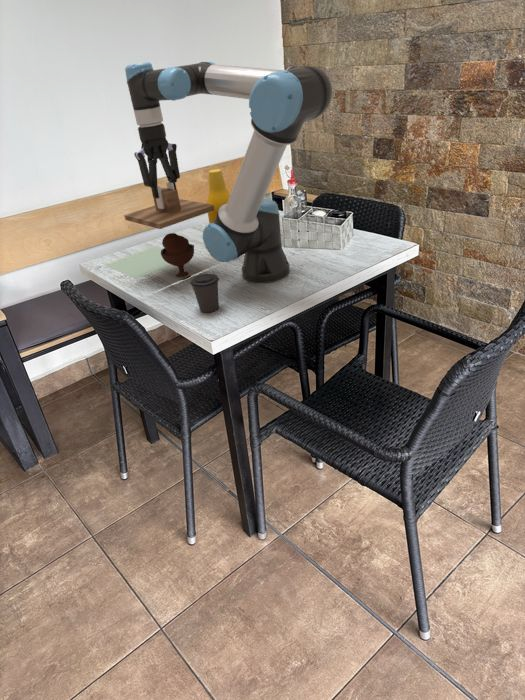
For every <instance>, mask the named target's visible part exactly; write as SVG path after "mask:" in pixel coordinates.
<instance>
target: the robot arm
mask: <svg viewBox="0 0 525 700" xmlns="http://www.w3.org/2000/svg"><path fill="white" fill-rule="evenodd" d="M124 70H125V71H124V72H125V77H126V85H127V87H128V91H129V97H130V101H131V104H132V109H133V112H134V113H133V114H134V117H135V122H136V125H137V126H138V127H137V131H138V137H139V139H140V142H141V147H140V148H141V149H140V150H138V152H134V153H133V154H134V157H135V159H136V160H137V162H138V166H139V171H140V174H141V178H142V181H143V185H144V187H148V188H149V187H150V189H151V194H152V198H153V197H154V198H156V202H157V206H158V208H160V209H165V207H164V202H163V198H162V193H161V188H162V187H161V186H158V168H157V163H158V161H160V165H161V166H162V169H163V172H164V174H165V177H166V178H167V181H168V182H166V188H167V189H173V190H177V191H178V189H177V184H176V183H177V181H178V179H180V178H181V175H180V168H179V162H178V156H177V146H178V145H177V144H176V143H170V142H169V141H168V139H167V138H166V137H167V133H166V127H165V124H164V123H162V122H164V118H163V113H162V108H161V103H160V101H178V100H183V99H185V98H187V97H190V96H191V97H192V96H194V95H200V94H201V95H202V94H204V95H212V96H213V95H214V96H221V97H228V98H235V99H243V100H245V99H246V100H248V108H249V109H250V112H249V115H250V118H251V119H250V125H251V127H252V128H253V132H252V135H251V138H250V141H249V143H248V146H247V149H246V151H245V154H244V157H243V158H242V163H241V165H240V167H239V170H238V172H237V173H238V174H237V176H236V179H235V182H234V184H233V187H232V190H231V192H230V197H229V200H228V203H227V204H224V205H222V206H221V207H220V209H219V211H218V214H217V216H216V219H215V221H214V222H213V223H210V224H209V223H208V224H207V225H206V226H205V227H204V229H203V231H202V239H203V241H202V242H203V244H204V246H205V249H206V250H207V251H208V253H209V255H210V256H211V257H213V259H215V260H216V261H217V262H221V263H229V262H231V261H232V262H233V261H235V260H236V259H238V258H239V257H240V258H241V257H242V256H243V255H244V257H243V263H242V267H241V274H242V278H243V279H244V280H245V281H248V282H250V283H261V284H262V283H270V282H275V281H279V280H282V279H284V278H285V277H288V275H289V274H290V272H291V270H290V263H289V261H288V259H287V256H286V254H285V252H284V250H283V244H282V233H281V221H280V211H279V206H278V205H279V204H277V202H276V201H275V200H272V199H265V197H266V195H267V192H268V190H269V187H270V186H271V184H272V181H273V178H274V176H275V174H276V172H277V170H278V167H279V165H280V162H281V160H282V158H283V156H284V153H285V151H286V150H287V149H286V148H287V146H290V145H292V144H294V143H296V141H297V139H298V137H299V134H300V133H301V130H302V129H303V126H304V124H305V123H306V122H309V121H313V120H314V119H318V118H319V117H320V116H322V115H323V114H324V113H325V112H326V111H327V110H328V108H329V106H330V104H331V101H332V99H333V85H332V81H331V79H330V77H329V76H328V74H327V73H326V72H325V70H322V68H320V67H318V66H316V65H315V66H314V65H304V66H303V65H302V66H295V65H294V66H293V65H291V66H289V67H287V68H286V69H274V68H273V69H272V68H262V67H258V68H257V67H251V66H249V67H248V66H237V65H225V64H216V63H215V62H212V61H200V62H198V63H192V64H186V65H180V66H172V67H166V68H159V69H154V68H153V65H152V63H151V62H149V61H148V62H140V63H133V64H128V65H126V66H125V68H124ZM167 151H168V154H167ZM146 156H147V157H146ZM145 157H146V158H147V160H146V158H145ZM147 163H148V164H147Z"/></svg>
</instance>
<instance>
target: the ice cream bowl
mask: <svg viewBox="0 0 525 700" xmlns="http://www.w3.org/2000/svg"><path fill="white" fill-rule="evenodd" d="M161 244H162V246H163V249H162V250H161V256H162V258H163V259H164V260H165V261H166V262H167V263H169V264H171V265H170V266H174V267H177V268H178V272H177V274H175V277H176V278H181V279H180V281H183V280H187V279H189V278H191V277H192V275H190V272H188V271H185V265H187V264H189V262H190V261H192V259H193V257H194V254H195V245H194V244H191V243H190V242H189V239H188V238H186V237H185V236H183V235H180V234H177V233H175V232H173V233H172V232H171V233H170V232H169V233H166V235H164V236H163V238H162V241H161Z"/></svg>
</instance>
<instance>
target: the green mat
mask: <svg viewBox="0 0 525 700" xmlns="http://www.w3.org/2000/svg"><path fill="white" fill-rule="evenodd" d="M162 249H164V247H163V248H162V247H159V246H157V245H156V246H155V245H154V246H152V247H149V248H147V249H144V250H142V251H139V252H136V253H133V254H131V255H129V256H125V257H123V258H120V259H118V260H114V261H112V262H108V263H107V264H104V266H105V267H107V268H108V269H112V270H115V271H117V272H119V273H121V274H124V275H126V276H129V277H131V278H133V279H136V280H137V279H140V278H142V277H146V276H147V275H149V274H152V273H154V272H157V271H159V270H162V269H164V268H167V267H169V266H172V265H171V264H169V263H167V262H166V261H165V260H164V259H163V258H162V256H161V250H162Z"/></svg>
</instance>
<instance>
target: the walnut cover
mask: <svg viewBox="0 0 525 700" xmlns="http://www.w3.org/2000/svg"><path fill="white" fill-rule="evenodd" d="M160 188H161V193H162V198H163V202H164V207H165V209H160V208H158V206H157V202H156V198H154V197H153V196H152V198H153V202H154V205H153V206H150V207H145V208H142V209H140V210H136V211H133V212H131V213H127V214H125V215H123V216H124V220H125V221H128V222H132V223H136V224H140V225H142V226H147V227H151V228H154V229H158V230H161V229H165V228H168V227H170V226H173V225H175V224H179V223H182V222H184V221H187V220H191V219H193V218H196V217H199V216H201V215H204V214H208V212H210V211H213V210H214V205H210V204H207V203H203V202H200V201H194V200H189V199H188V200H187V199H183V198H180V196H179V192H178V189H177V190H173V189H167V187H160Z"/></svg>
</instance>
